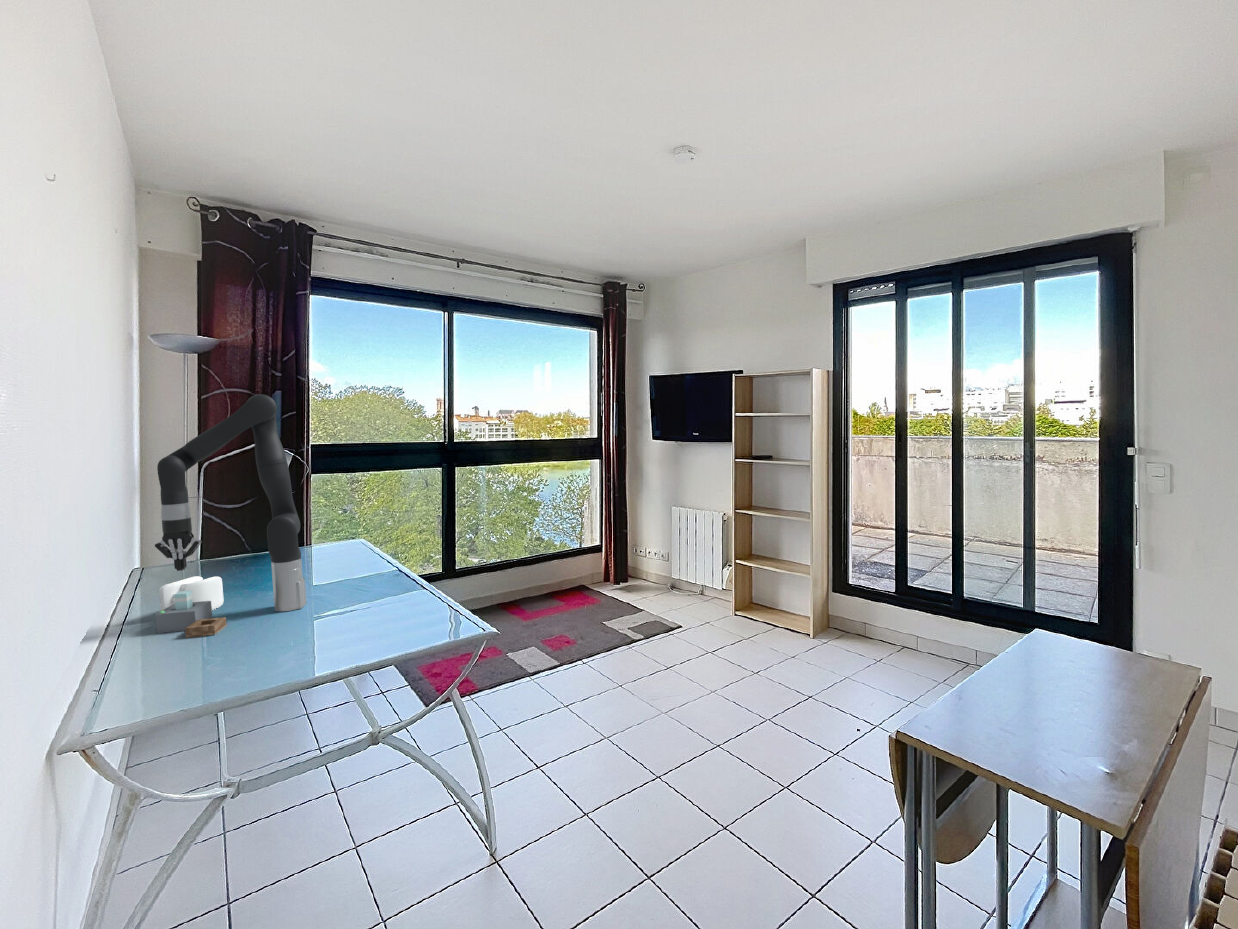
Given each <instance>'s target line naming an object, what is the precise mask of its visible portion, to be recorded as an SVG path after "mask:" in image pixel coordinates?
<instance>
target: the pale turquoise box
mask: <svg viewBox="0 0 1238 929" xmlns="http://www.w3.org/2000/svg"><path fill="white" fill-rule="evenodd" d="M174 598H175V599H174V601H175V609H176V610H184V609H190V608H191V607H193V604H192V592H191V591H179V592H178V593H176V594H174Z"/></svg>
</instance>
